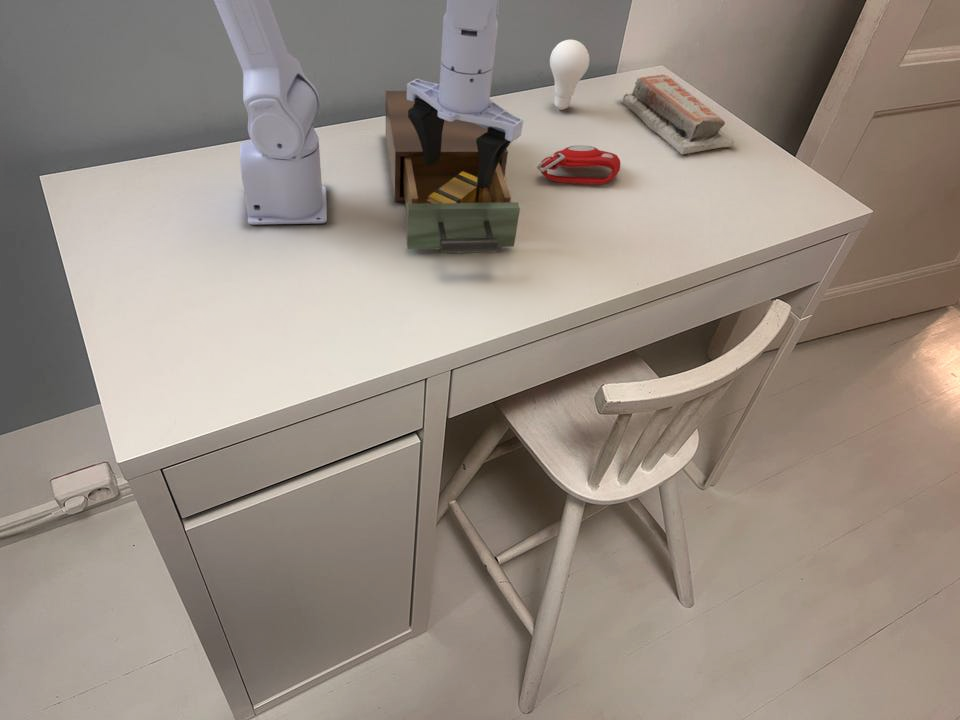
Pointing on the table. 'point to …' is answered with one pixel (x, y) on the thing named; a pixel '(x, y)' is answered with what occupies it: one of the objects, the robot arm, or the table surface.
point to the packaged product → (676, 115)
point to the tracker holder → (580, 164)
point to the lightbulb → (567, 69)
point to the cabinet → (406, 141)
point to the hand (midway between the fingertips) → (457, 173)
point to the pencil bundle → (458, 190)
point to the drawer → (456, 208)
